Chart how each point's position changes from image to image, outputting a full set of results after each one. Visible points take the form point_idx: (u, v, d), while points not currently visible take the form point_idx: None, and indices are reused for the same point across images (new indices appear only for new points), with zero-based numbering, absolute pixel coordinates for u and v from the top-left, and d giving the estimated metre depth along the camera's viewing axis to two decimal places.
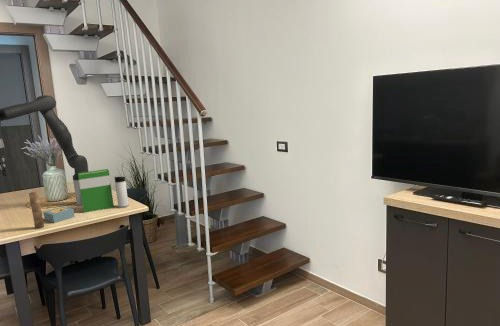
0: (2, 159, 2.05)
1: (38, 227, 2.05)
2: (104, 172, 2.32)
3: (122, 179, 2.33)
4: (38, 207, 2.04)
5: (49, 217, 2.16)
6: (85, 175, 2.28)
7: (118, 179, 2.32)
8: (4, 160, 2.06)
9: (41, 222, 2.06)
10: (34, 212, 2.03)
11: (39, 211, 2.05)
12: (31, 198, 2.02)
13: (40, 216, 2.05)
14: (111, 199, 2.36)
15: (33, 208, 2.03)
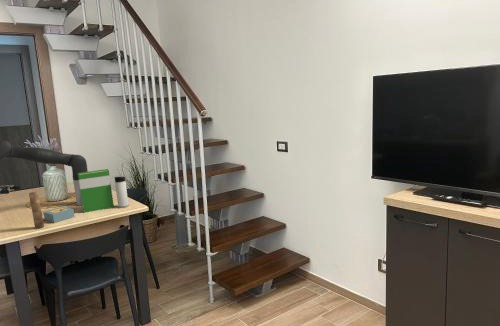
0: None
1: (38, 227, 2.05)
2: (104, 172, 2.32)
3: (122, 179, 2.33)
4: (38, 207, 2.04)
5: (49, 217, 2.16)
6: (85, 175, 2.28)
7: (118, 179, 2.32)
8: None
9: (41, 222, 2.06)
10: (34, 212, 2.03)
11: (39, 211, 2.05)
12: (31, 198, 2.02)
13: (40, 216, 2.05)
14: (111, 199, 2.36)
15: (33, 208, 2.03)
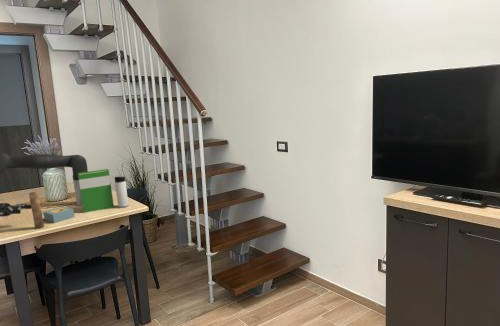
0: (0, 214, 2.01)
1: (38, 227, 2.05)
2: (104, 172, 2.32)
3: (122, 179, 2.33)
4: (38, 207, 2.04)
5: (49, 217, 2.16)
6: (85, 175, 2.28)
7: (118, 179, 2.32)
8: (1, 212, 2.01)
9: (41, 222, 2.06)
10: (34, 212, 2.03)
11: (39, 211, 2.05)
12: (31, 198, 2.02)
13: (40, 216, 2.05)
14: (111, 199, 2.36)
15: (33, 208, 2.03)
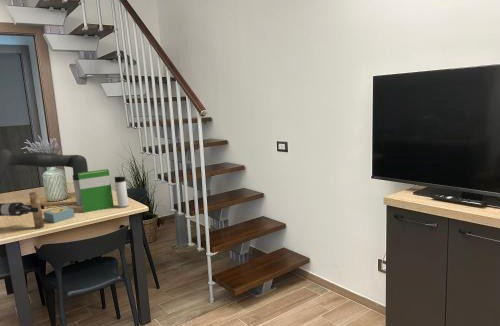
0: (17, 213, 2.00)
1: (38, 227, 2.05)
2: (104, 172, 2.32)
3: (122, 179, 2.33)
4: (38, 207, 2.04)
5: (49, 217, 2.16)
6: (85, 175, 2.28)
7: (118, 179, 2.32)
8: (18, 211, 2.00)
9: (41, 222, 2.06)
10: (34, 212, 2.04)
11: (39, 211, 2.05)
12: (31, 198, 2.02)
13: (40, 216, 2.05)
14: (111, 199, 2.36)
15: None
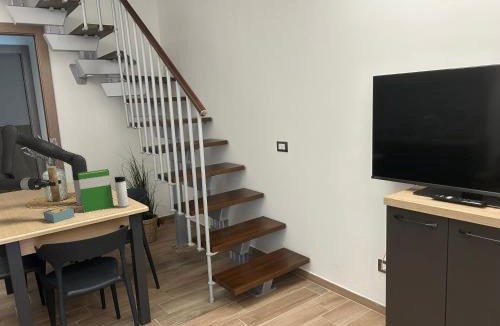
0: (36, 186, 2.12)
1: (55, 200, 2.18)
2: (104, 172, 2.32)
3: (122, 179, 2.33)
4: (56, 181, 2.17)
5: (49, 217, 2.16)
6: (85, 175, 2.28)
7: (118, 179, 2.32)
8: (37, 185, 2.12)
9: (58, 196, 2.18)
10: (52, 186, 2.16)
11: (56, 185, 2.17)
12: (50, 172, 2.14)
13: (57, 190, 2.18)
14: (111, 199, 2.36)
15: None
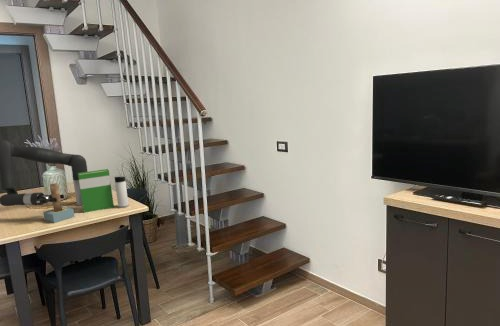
0: (37, 202, 2.14)
1: None
2: (104, 172, 2.32)
3: (122, 179, 2.33)
4: (58, 197, 2.18)
5: (49, 217, 2.16)
6: (85, 175, 2.28)
7: (118, 179, 2.32)
8: (38, 201, 2.14)
9: None
10: (54, 202, 2.18)
11: (59, 201, 2.19)
12: (52, 189, 2.16)
13: (60, 206, 2.20)
14: (111, 199, 2.36)
15: None
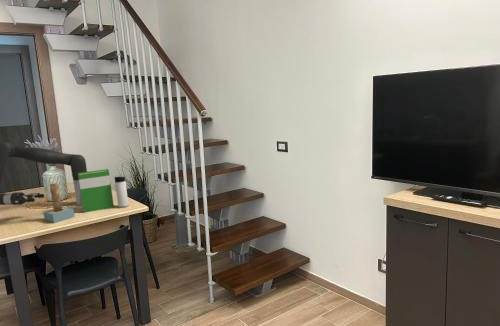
0: (16, 202, 2.16)
1: None
2: (104, 172, 2.32)
3: (122, 179, 2.33)
4: (58, 197, 2.18)
5: (49, 217, 2.16)
6: (85, 175, 2.28)
7: (118, 179, 2.32)
8: (16, 200, 2.16)
9: None
10: (54, 202, 2.18)
11: (59, 201, 2.19)
12: (52, 189, 2.16)
13: (60, 206, 2.20)
14: (111, 199, 2.36)
15: (53, 198, 2.17)
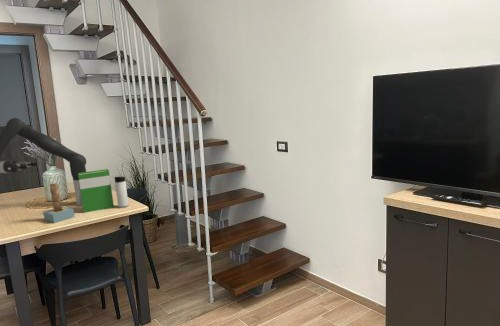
0: (8, 169, 2.17)
1: None
2: (104, 172, 2.32)
3: (122, 179, 2.33)
4: (58, 197, 2.18)
5: (49, 217, 2.16)
6: (85, 175, 2.28)
7: (118, 179, 2.32)
8: (9, 167, 2.17)
9: None
10: (54, 202, 2.18)
11: (59, 201, 2.19)
12: (52, 189, 2.16)
13: (60, 206, 2.20)
14: (111, 199, 2.36)
15: (53, 198, 2.17)
